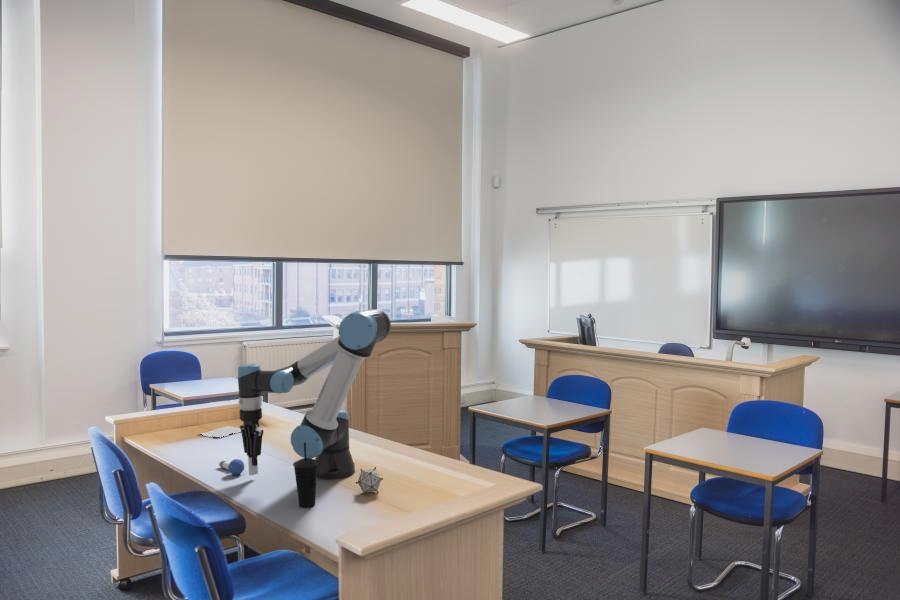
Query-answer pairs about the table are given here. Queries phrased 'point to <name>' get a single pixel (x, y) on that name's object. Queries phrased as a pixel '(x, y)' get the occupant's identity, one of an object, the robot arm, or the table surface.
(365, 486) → the game die
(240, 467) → the ball
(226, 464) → the pin
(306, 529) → the table surface
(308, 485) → the drinking cup
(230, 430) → the paper stack
